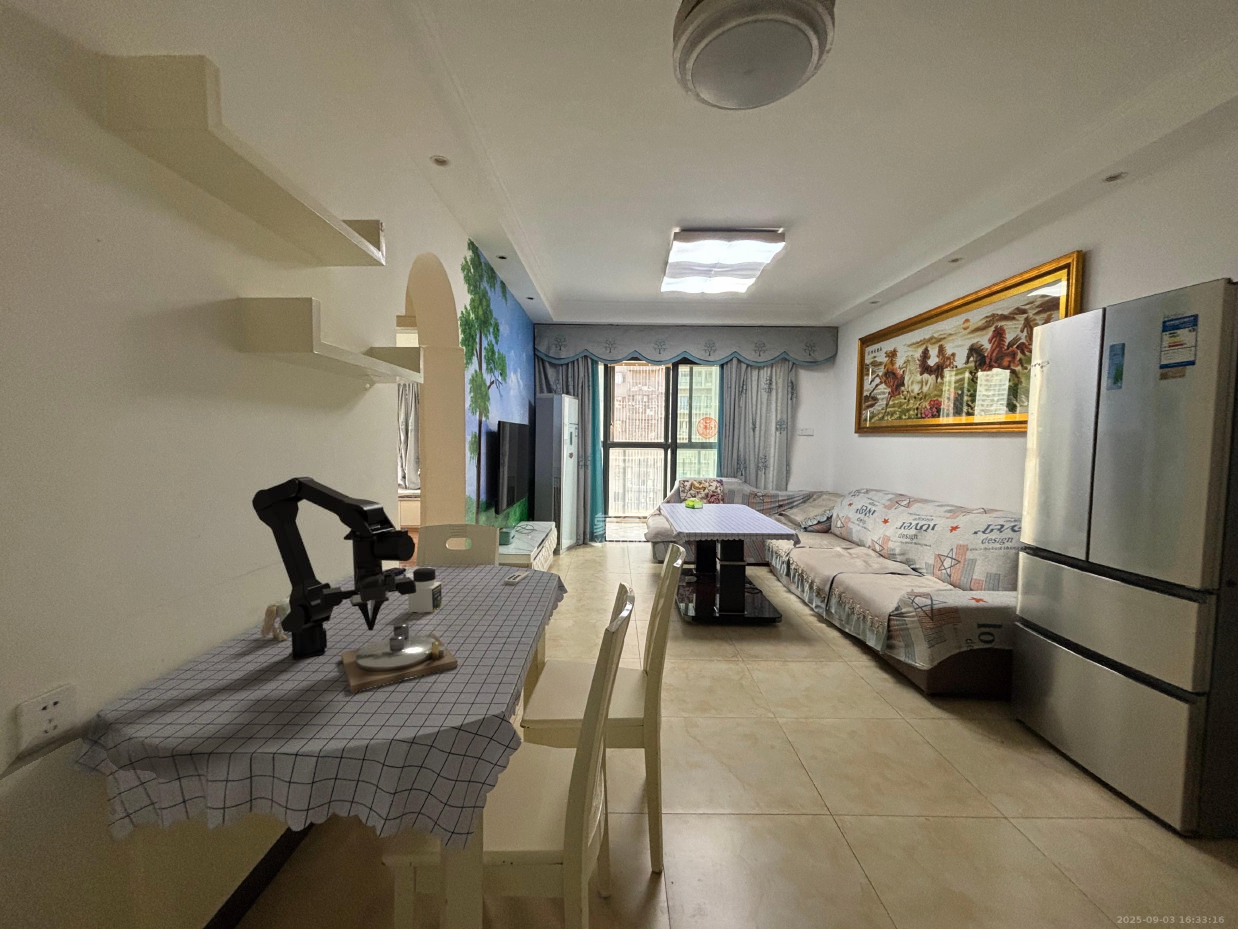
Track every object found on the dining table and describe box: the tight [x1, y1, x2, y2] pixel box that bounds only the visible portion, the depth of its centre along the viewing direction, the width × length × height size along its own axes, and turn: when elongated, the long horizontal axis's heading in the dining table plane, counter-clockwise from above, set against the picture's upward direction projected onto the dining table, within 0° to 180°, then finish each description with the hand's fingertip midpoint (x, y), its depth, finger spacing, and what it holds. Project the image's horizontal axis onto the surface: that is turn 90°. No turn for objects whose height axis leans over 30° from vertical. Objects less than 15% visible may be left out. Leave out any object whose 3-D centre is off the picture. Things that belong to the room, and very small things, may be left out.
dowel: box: [432, 642, 439, 660], centre depth 111 cm, size 1×1×4 cm
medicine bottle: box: [407, 566, 443, 613], centre depth 152 cm, size 7×7×12 cm
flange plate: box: [356, 622, 448, 671], centre depth 113 cm, size 18×16×4 cm
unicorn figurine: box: [260, 593, 291, 642], centre depth 135 cm, size 7×20×13 cm, turn 12°
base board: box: [340, 633, 459, 694], centre depth 114 cm, size 20×20×2 cm
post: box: [388, 635, 405, 651], centre depth 113 cm, size 3×3×2 cm
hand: (370, 630), depth 116 cm, fingers closed
